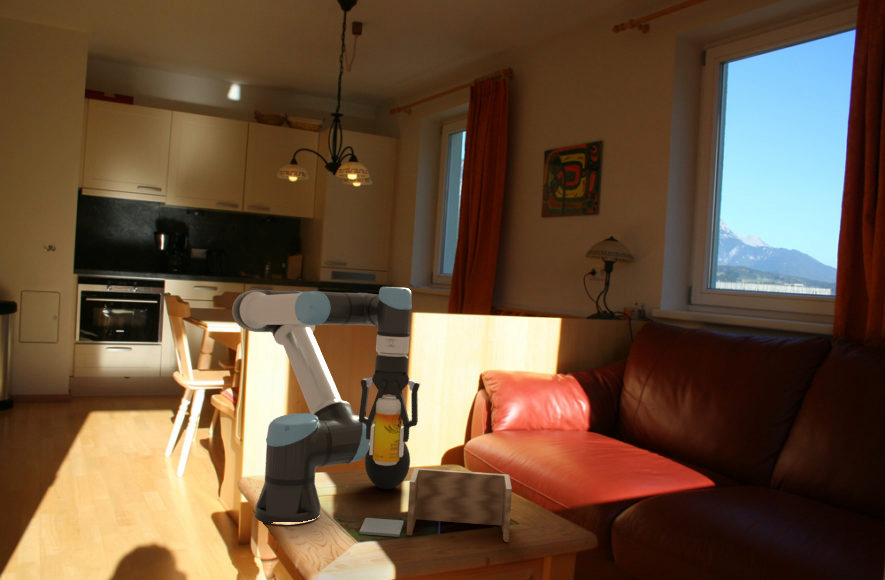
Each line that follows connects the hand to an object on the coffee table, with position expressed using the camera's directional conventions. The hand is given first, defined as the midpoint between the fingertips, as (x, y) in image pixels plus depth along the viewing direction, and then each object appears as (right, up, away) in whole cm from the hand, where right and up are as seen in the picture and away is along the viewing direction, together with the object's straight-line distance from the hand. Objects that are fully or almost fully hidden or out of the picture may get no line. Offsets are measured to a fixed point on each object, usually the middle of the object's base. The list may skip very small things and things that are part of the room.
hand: (386, 454), depth 159 cm
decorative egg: (-3, -17, +31) cm, 36 cm away
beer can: (0, -2, 0) cm, 2 cm away
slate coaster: (-1, -17, 0) cm, 17 cm away
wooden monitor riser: (+16, -18, +2) cm, 25 cm away
